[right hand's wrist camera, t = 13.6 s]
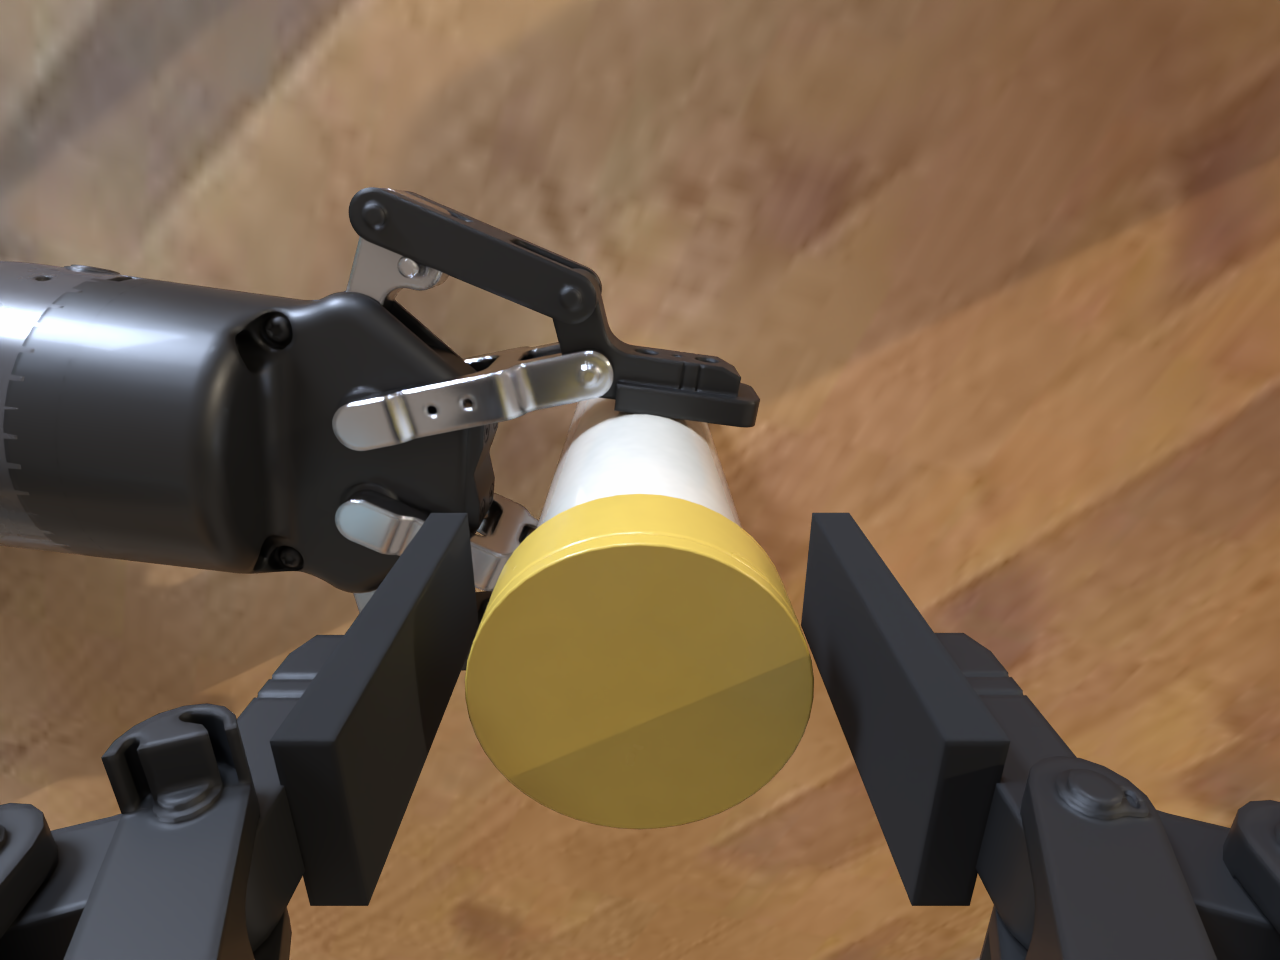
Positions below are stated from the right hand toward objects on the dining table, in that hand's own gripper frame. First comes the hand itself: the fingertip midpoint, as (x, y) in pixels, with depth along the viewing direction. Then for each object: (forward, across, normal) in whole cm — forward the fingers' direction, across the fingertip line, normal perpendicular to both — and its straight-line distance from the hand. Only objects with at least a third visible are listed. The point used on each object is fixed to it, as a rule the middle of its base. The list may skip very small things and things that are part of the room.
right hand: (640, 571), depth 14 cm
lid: (-4, 0, 0) cm, 4 cm away
